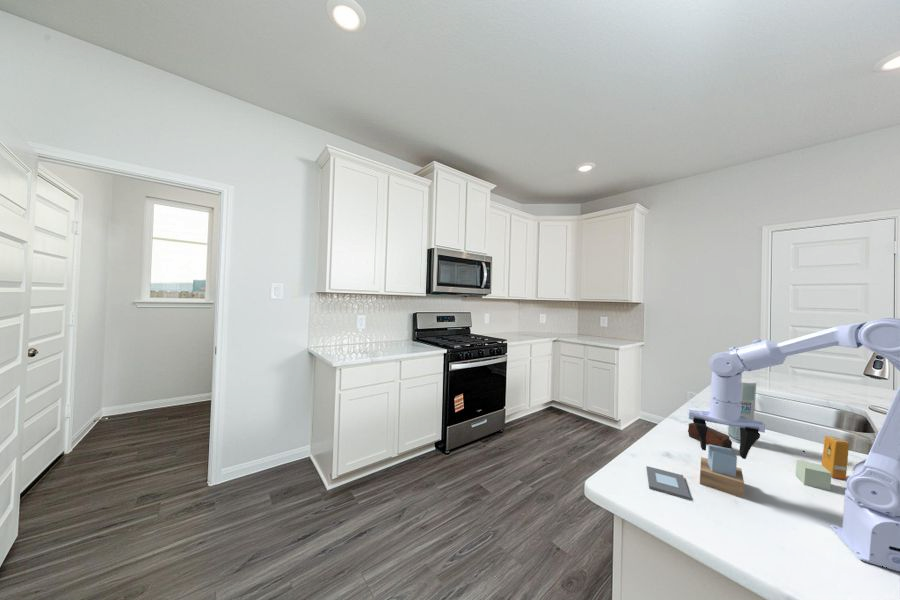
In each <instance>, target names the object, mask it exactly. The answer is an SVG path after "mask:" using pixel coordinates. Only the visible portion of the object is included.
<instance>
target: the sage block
mask: <svg viewBox="0 0 900 600" xmlns="http://www.w3.org/2000/svg"><path fill="white" fill-rule="evenodd" d="M795 477H796V478H797V479H798V480H799V481H800V483H802V484H803V486H807V487H813V488H816V489H821V490H825V491H829V492H830V491H831V483H832V477H831V473H830V472H829V471H828V470H827V469H826V468H825V467H823V466H822V463H821V464H820V463H814V462H810V461H805V460H800V459H796V465H795Z"/></svg>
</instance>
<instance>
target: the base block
mask: <svg viewBox="0 0 900 600" xmlns="http://www.w3.org/2000/svg"><path fill="white" fill-rule="evenodd" d="M699 471H700V472H699V484H700V485H701V486H705V487H707V488H710V489H713V490H717V491H719V492H722V493H726V494H728V495H731V496H734V497H736V498H737V497H738V498H740V499H744V490H745V481H744V477H743V469H742V468H740V467H737V466H736V477H733V476H729V475H724V474H720V473H716V472H712V471H711V469H710V467H709V465H708V458H705V457H702V456H700V470H699Z"/></svg>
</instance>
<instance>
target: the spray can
mask: <svg viewBox="0 0 900 600" xmlns="http://www.w3.org/2000/svg"><path fill="white" fill-rule="evenodd" d="M741 383H742V391H741V409H740V417H742V418H746V419H750V420H754V421H755V405H756V396H757V395H756V393H757V391H756V390H757V382H756V381H754V380H752V379H749V378H743V377H742V381H741ZM725 434H726V435H728V436H729V438H730V440H732V442H734V443H737V444H740V427H735V426H729V425H726V433H725Z"/></svg>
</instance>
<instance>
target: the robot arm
mask: <svg viewBox="0 0 900 600" xmlns="http://www.w3.org/2000/svg"><path fill="white" fill-rule="evenodd" d="M751 342H752V343H750V344H747V345H743V346H739V347H736V346H732V347H729V348H728V350H727V351H720V352H717V353H715V354H713V355H711V357H709V360H708V367H709V369H710V370H711V372H712V373H711V380H710V399H709V400H710V401H709V411H707V410H706V411H704V410H696V409H695V410H694V409H693V410H692V409H687V419H688V420H692V423H694V424H695V427H696V429H697V432H698V435H699V439H700V441H699V445H700V448H701V450H702V451H706V450H707V445H706V434H707V428H708V427H709V426H707V423H711V424H712V423H714V424H719V425H724V426H727V425H729V426H735V427H740V443H739V450H738V451H739V456H740V457H741V459H742V460H746V459H747V457H748V454H749V451H750V450H751V448H752V447H753V445H754V444H755V443H756V442H757V441H758V440H760V438H761V434H760V433H766V424H764V422H763V421H760V420H759V421H758V420H755V419H754V420H750V419H746V418H742V417H740V409H741V391H742V383H741V381H742V378H743V377H742V375H743V373H744V372H753V371H757V370H761V369H767V368H769V367H774V366H778V365H783V364H784V363H785V360H786V358H787V357H789V356H794V355H799V354H803V353H807V352H808V353H809V352H811V351H816V350H820V349H827V348H830V347H845V348H851V349H859V348H861V347H862V346H864V347H865V348H866V349H868V350H869V351H871V352H873V353H875V354H877V355H878V356H880V357H882V358H885V359H886V360H888V362H889V363H890V364H891V365H892V366H893V367H895V368H896V369H897V370H898V371H899V372H900V318H896V317H885V318H880V319H875V320H873V321H868V322H867V321H862V322H856V323H850V324H843V325H838V326H833V327H830V328H826V329H823V330H819V331H816V332H813V333H809V334H806V335H802V336H798V337H795V338H791V339H788V340H784V341H782V342H775V341H772V340H769V339H764V340H761V339H760V338H759V339H755V340H751ZM706 452H707V451H706ZM846 479H847V480H846V483H845V484H846V485H845V486H846V489H845V490H844V501H843V503H844V504H843V514H842V525H841V526H840V525H839V526H838V525H835V524H830V528H831V529H832V531H834V533H835V534H837V536H838V537H839V538H840V539H841V540H842V541H843V543H844V544H845V545H846V546H847V547H848V548H849V549H850V551H851V552H852V553H853V554H854V555H855V556H856V557H857V559H859V560H860V561H862V560H863V562H865V561H866V563H869V564H873V565H876V566H879V567H882V566H883V567H882V568H886V567H887V568H886V569H890V570H893V571H897V572H900V385H898V388H897V390H896V392H895V395H894V397H893V398H892V401H891V403H890V405H889V407H888V410H887V412H886V415H885V417H884V419H883V422H882V424H881V427H880V428H879V430H878V433H877V435H876V437H875V439H874V441H873V444H872V446H871V448H870V451H869V452H868V454H867V457H866V458H864V460H861V461H859V462H856V464H855V465H853V470H852V474H851V475H849V476H848V478H846Z"/></svg>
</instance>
